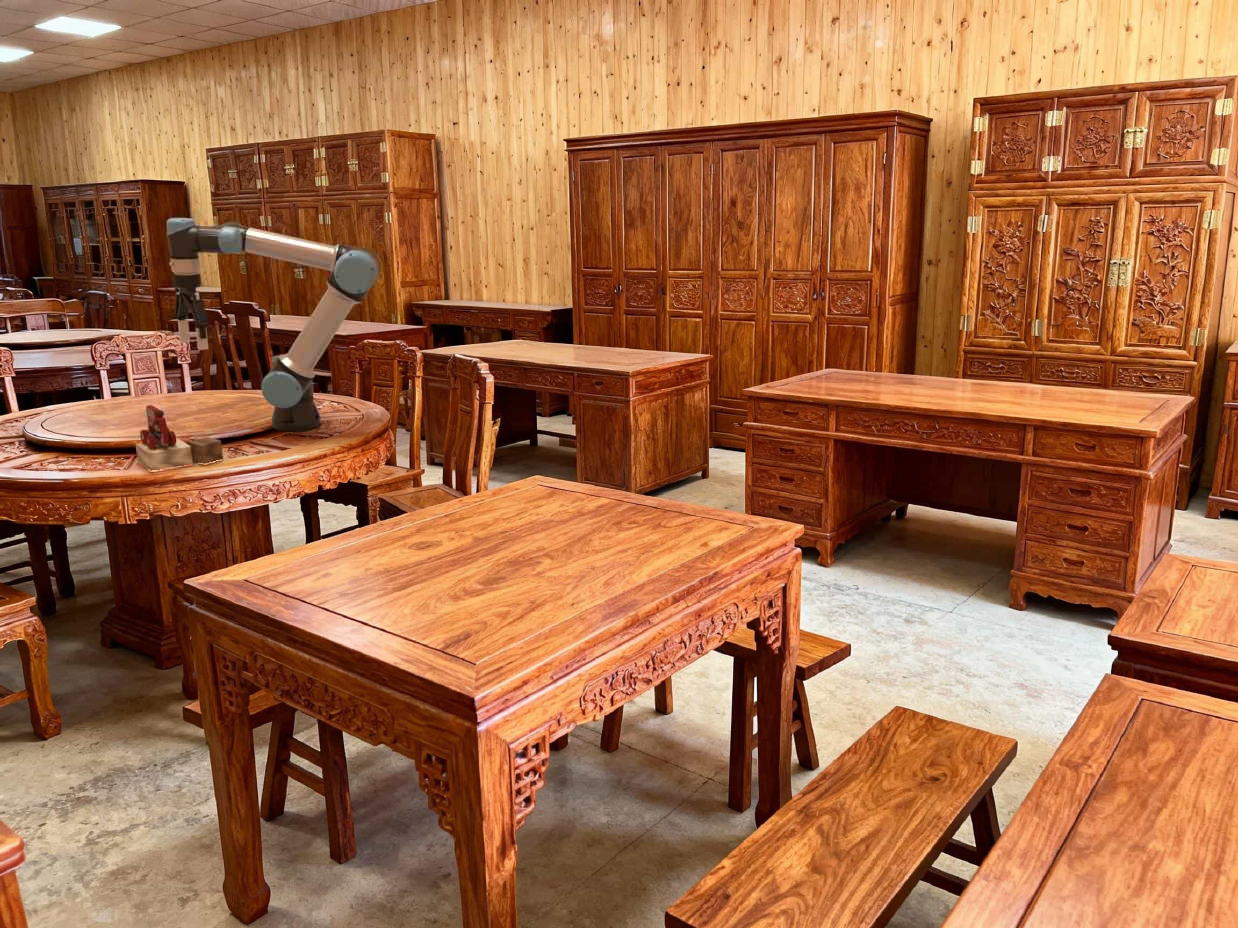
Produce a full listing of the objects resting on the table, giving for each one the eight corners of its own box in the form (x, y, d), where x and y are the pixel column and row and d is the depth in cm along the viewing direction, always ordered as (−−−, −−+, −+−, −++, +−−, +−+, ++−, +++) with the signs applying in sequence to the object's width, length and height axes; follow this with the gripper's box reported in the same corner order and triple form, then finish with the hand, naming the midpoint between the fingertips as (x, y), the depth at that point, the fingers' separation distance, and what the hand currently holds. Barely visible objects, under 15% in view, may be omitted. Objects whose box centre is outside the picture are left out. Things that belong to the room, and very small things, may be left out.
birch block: (178, 456, 266) (176, 437, 264) (193, 466, 258) (190, 446, 256) (138, 464, 258) (135, 443, 256) (151, 474, 251) (148, 453, 249)
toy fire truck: (153, 452, 250) (148, 415, 247) (139, 441, 259) (134, 405, 255) (180, 447, 255) (175, 411, 251) (165, 437, 263) (160, 402, 260)
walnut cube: (209, 456, 266) (207, 436, 264) (222, 460, 263) (220, 440, 261) (190, 462, 261) (188, 441, 259) (204, 466, 258) (202, 445, 256)
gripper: (156, 269, 272) (165, 340, 279) (189, 279, 255) (197, 354, 262) (182, 267, 277) (190, 337, 284) (216, 277, 260) (224, 351, 267)
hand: (194, 345), depth 273 cm, fingers open, 13 cm apart
